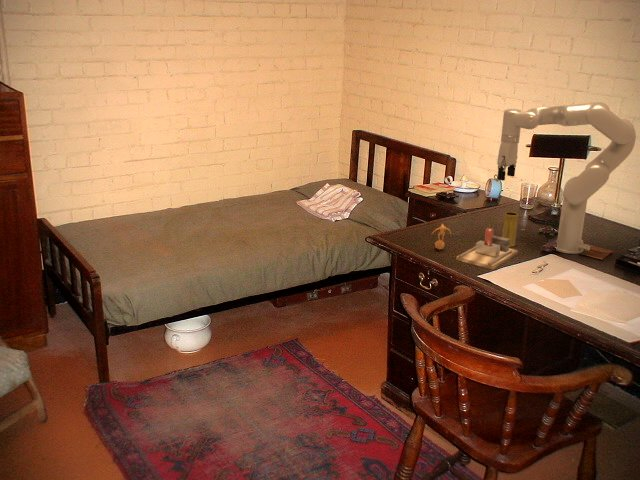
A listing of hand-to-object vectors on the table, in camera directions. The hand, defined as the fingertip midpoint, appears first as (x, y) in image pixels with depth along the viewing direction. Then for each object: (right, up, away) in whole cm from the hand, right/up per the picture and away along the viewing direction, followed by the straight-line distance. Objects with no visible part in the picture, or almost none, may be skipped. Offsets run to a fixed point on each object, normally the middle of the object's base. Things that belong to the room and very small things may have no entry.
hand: (505, 177), depth 285 cm
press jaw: (-11, -32, -13) cm, 37 cm away
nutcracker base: (-11, -34, -12) cm, 38 cm away
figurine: (-29, -31, -5) cm, 43 cm away
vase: (+2, -29, +3) cm, 29 cm away
